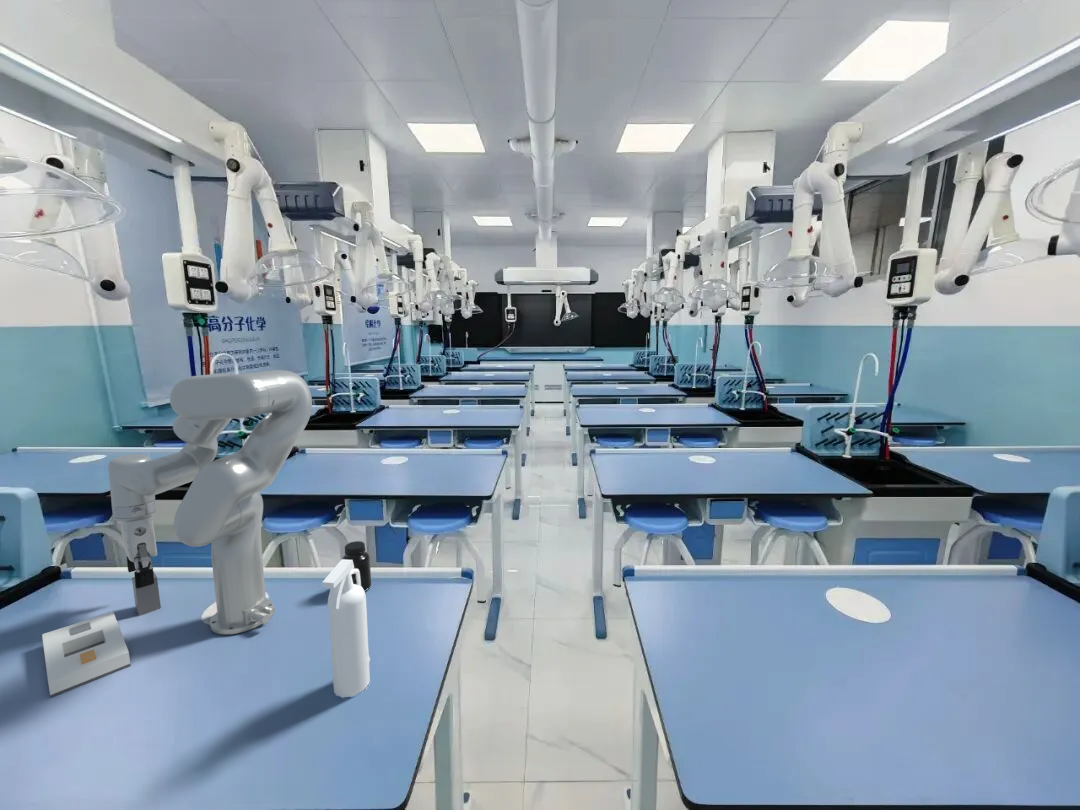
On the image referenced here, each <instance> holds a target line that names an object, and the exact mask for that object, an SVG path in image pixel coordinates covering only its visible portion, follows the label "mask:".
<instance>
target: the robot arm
mask: <svg viewBox="0 0 1080 810" xmlns="http://www.w3.org/2000/svg"><path fill="white" fill-rule="evenodd" d="M169 404H170V407H171V408H172V410H173V411H174V412H175V413H176V415H178V416H177V417H175V419H174V421H173V423H172V429H173V433H174V434H175V435H176V436H177V437H178V438H179V439H180V440H181V441H183V442H185V444H184V445H183V447H182V448H181V449H180V450H179V451H178V452H175V453H172V454H167V455H164V456H161V457H158V458H155V459H152V458H151V457H150V456H149V455H146V454H142V453H140V454H138V453H134V454H124V455H121V456H117V457H114V458H112V459H110V460H109V462H108V465H107V466H108V467H107V469H108V470H107V472H108V478H109V479H108V480H109V492H110V497H111V498H110V499H111V500H110V501H111V510H112V519H113V520H114V521H117V522H120V531H121V538H122V539H121V540H122V544H123V548H124V551H125V554H126V565H127V571H128V573H132V572H133V574H134V577H135V585H136V588H137V589H138V588H142V587H145V586H149V585H152V584H154V575H153V571H154V567H153V564H152V560H151V557H153V558H154V557H157V555H158V548H157V541H156V540H157V539H156V533H155V532H156V531H155V527H154V521H153V517H152V516H153V515H155V514H156V513H157V507H156V506H157V505H156V495H159V494H162V493H165V492H167V491H169V490H173V489H175V488H178V487H180V486H183V485H185V484H189V483H191V482H192V483H191V484H190V486H189V488H188V489H187V491H186V493H185V495H184V496H183V499H182V501H181V503H180V504H179V506H178V508H177V509H176V512H175V515H174V519H173V529H174V530H173V531H174V533H175V536H176V537H177V539H178V540H179V541H180V542H181V543H183V544H184V545H186V546H189V547H204V546H207V545H209V544H211V547H210V548H211V549H210V550H211V551H210V552H211V553H210V554H211V563H212V566H211V567H212V574H213V575H212V576H213V584H214V585H213V586H214V592H215V594H214V595H215V605H216V612H215V613H214V614H213V616H212V617H211V618H210V621H209V629H210V630H211V631H212V632H213V633H214V634H218V635H234V634H235V635H236V634H240V633H244V632H248V631H250V630H253V629H255V628H257V627H260V626H261V625H263V624H267V623H268V622H269V621H270V619H271V617H272V616H273V615H274V614H275V611H276V609H275V604H274V602H273V601H271V600H270V599H269V598H268V597H267V595H266V594H267V593H266V585H265V584H266V583H265V572H264V560H263V548H262V547H263V545H262V521H263V514H264V501H263V500H264V499H263V496H262V495H261V492H262V491H263V490H265V489H267V488H268V487H270V486H271V485H272V484H273V482H274V481H275V479H276V477H277V475H278V474H279V472H280V470H281V469H282V467H283V466H284V464H285V462H286V460H287V459H288V457H289V455H290V453H291V451H292V449H293V448H294V446H295V445H296V443H297V441H298V440H299V438H300V437H301V436H302V433H303V432H304V430H305V428H306V427H307V425H308V422H309V420H310V418H311V415H312V410H313V398H312V394H311V390H310V388H309V386H308V383H307V382H306V381H305V380H304V378H303V377H302V376H300V375H299V374H297V373H295V372H293V371H289V370H286V369H284V370H283V369H282V370H281V369H272V370H264V371H257V372H247V373H239V374H231V373H210V374H202V375H193V376H187V377H185V378H183V379H180V380H179V381H178V382H176V384H174V386H173V387H172V390H171V391H170V395H169ZM264 414H266V415H264ZM261 415H264V417H262V419H261V420H260V421H259V422H258V423H257V424H256V425H255V426H254V428H253V429H252V431H251V432H250V434H249V436H248V438H247V440H246V441H245V443H244V444H243V445H242V447H241V448H240V449H239V450H238V451H236V452H234V453H231V454H229V455H225V456H223V457H220V458H216V457H217V454H218V449H219V447H218V446H219V444H218V437H219V436H220V435H221V434H222V432H223V431H224V430H225V428H226V427H227V426H228V425H229V424H230V423H231V421H232V419H246V418H251V417H257V416H261ZM215 458H216V459H215Z"/></svg>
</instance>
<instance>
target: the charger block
mask: <svg viewBox="0 0 1080 810" xmlns="http://www.w3.org/2000/svg"><path fill="white" fill-rule="evenodd" d="M153 575H154V584H152V585H149V586H145V587H142V588H138V589H137V588H136V585H135V576H132V577H131V581H132V589H133V596H134V597H133V598H134V603H135V610H136V612H137V614H138V617H141V616H143V615H146V614H149V613H152V612H154V611H157V609H158V610H161V609H162V607H161V598H160V592H159V591H160V590H159V583H158V577H157V575H156V573H155V571H154V570H153ZM160 608H161V609H160Z"/></svg>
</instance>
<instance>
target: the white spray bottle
mask: <svg viewBox="0 0 1080 810" xmlns="http://www.w3.org/2000/svg"><path fill="white" fill-rule="evenodd" d="M353 568H354V564H353V560H346V559H342V558H341V560H340V561H339V562H338V563H337V564H336V566H335V567H334V568H333V569H332V570H331V571H330V573H329V574H328V575H327V576H326V577H325V579H324V580H323V581H322V582H321V583H322V584H321V585H322V588H323V589H330V590H329V594H328V598H327V605H326V606H327V608H326V609H328V615H329V617H328V618H329V630H330V631H329V632H330V633H329V634H330V649H331V650H330V651H331V664H332V665H331V668H332V679H333V680H332V681H333V683H332V684H333V694H334V693H335V694H337V695H339V696H341V697H345V696H346V697H347V696H354V695H356V694H357V693H359V692H361V691H363V690H364V689H365V688H366V687H367V685H368V684H369V682H370V683H371V679H370V678H371V675H370V662H371V657H370V655H369V654H370V652H369V636H368V635H369V633H368V615H367V614H368V613H367V612H368V611H367V596H366V592H365V591H364V590H363V588H362V586H361V580H360V572H359V570H358V569H353ZM352 574H356V580H357V585H356V584H353V581H352V576H351V575H352ZM369 685H370V684H369ZM367 688H368V687H367ZM367 688H366V689H367ZM335 694H334V695H335ZM337 695H336V696H337Z"/></svg>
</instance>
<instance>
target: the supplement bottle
mask: <svg viewBox="0 0 1080 810" xmlns="http://www.w3.org/2000/svg"><path fill="white" fill-rule="evenodd" d="M342 559H346V560H353V564H354V568H353V569H358V570H359V572H360V580H361V586H362V588H363V590H366V589H367V588H369V587H370V586H372V572H371V557H370V554H369V553H368V552H367V551H366V544H365V542H363V541H359V540H357V541H351V542H349V543H347V544H345V546H344V555H343V557H342V558H341V560H342ZM351 576H352V581H353V584H356V585H357V580H356V574H352V575H351ZM370 588H371V587H370ZM370 588H369V589H370Z"/></svg>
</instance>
